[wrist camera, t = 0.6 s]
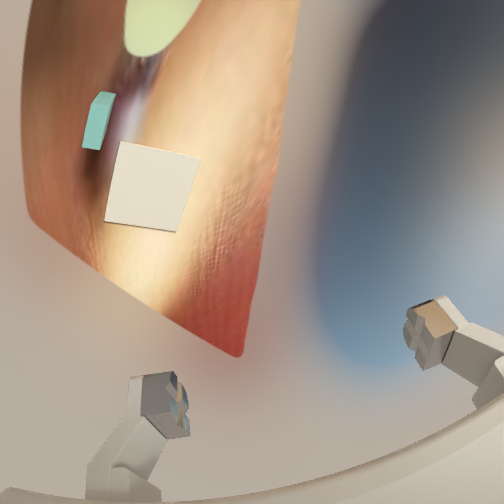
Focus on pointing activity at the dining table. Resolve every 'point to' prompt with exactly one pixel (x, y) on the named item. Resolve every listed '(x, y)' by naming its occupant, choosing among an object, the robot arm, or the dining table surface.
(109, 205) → the mat
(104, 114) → the slab
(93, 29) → the dining table surface
